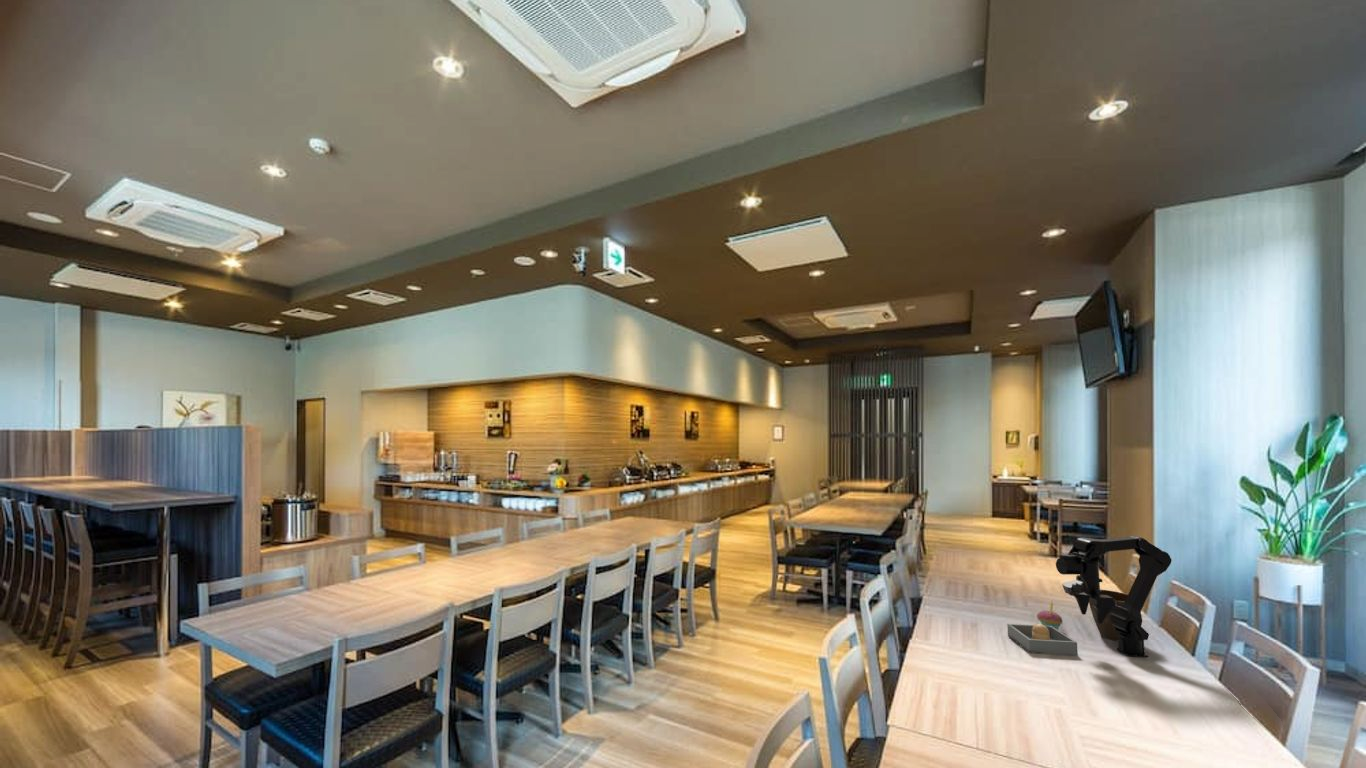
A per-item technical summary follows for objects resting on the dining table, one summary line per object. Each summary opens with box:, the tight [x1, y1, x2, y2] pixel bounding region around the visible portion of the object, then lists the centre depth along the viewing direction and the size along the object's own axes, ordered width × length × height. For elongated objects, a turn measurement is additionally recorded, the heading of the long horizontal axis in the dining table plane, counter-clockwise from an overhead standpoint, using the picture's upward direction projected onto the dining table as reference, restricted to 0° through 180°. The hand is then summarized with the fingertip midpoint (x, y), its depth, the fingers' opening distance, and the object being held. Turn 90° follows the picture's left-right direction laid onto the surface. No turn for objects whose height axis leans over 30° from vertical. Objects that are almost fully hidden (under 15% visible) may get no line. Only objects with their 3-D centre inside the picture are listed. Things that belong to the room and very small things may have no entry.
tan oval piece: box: [1032, 623, 1050, 640], centre depth 200 cm, size 5×5×7 cm
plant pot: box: [1088, 589, 1128, 642], centre depth 208 cm, size 15×15×16 cm
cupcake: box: [1036, 601, 1063, 630], centre depth 215 cm, size 9×8×12 cm
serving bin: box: [1006, 623, 1079, 656], centre depth 199 cm, size 16×16×4 cm
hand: (1091, 618), depth 194 cm, fingers open, 9 cm apart
